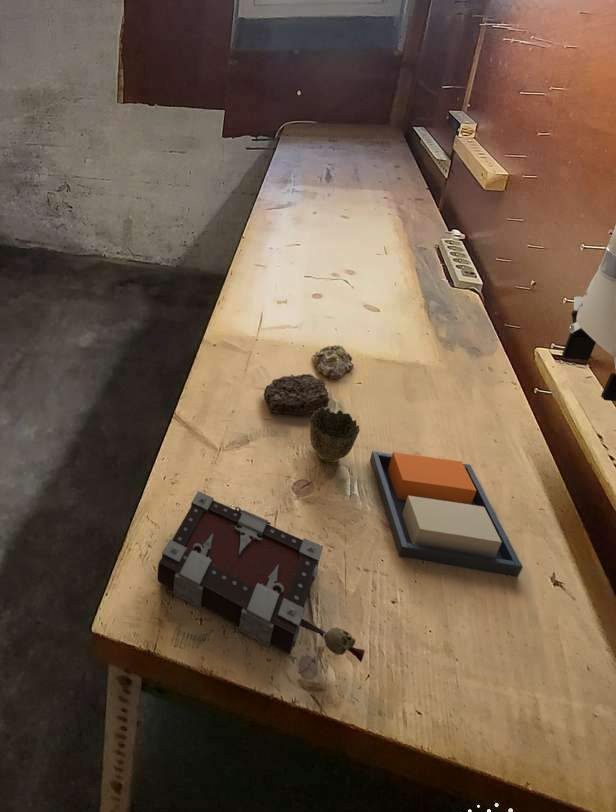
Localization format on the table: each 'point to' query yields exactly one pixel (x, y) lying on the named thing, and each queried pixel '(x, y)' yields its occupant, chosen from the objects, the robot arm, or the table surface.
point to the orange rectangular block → (430, 478)
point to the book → (246, 574)
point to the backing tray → (394, 507)
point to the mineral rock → (333, 361)
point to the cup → (332, 434)
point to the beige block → (450, 526)
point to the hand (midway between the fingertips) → (594, 377)
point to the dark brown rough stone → (296, 394)
